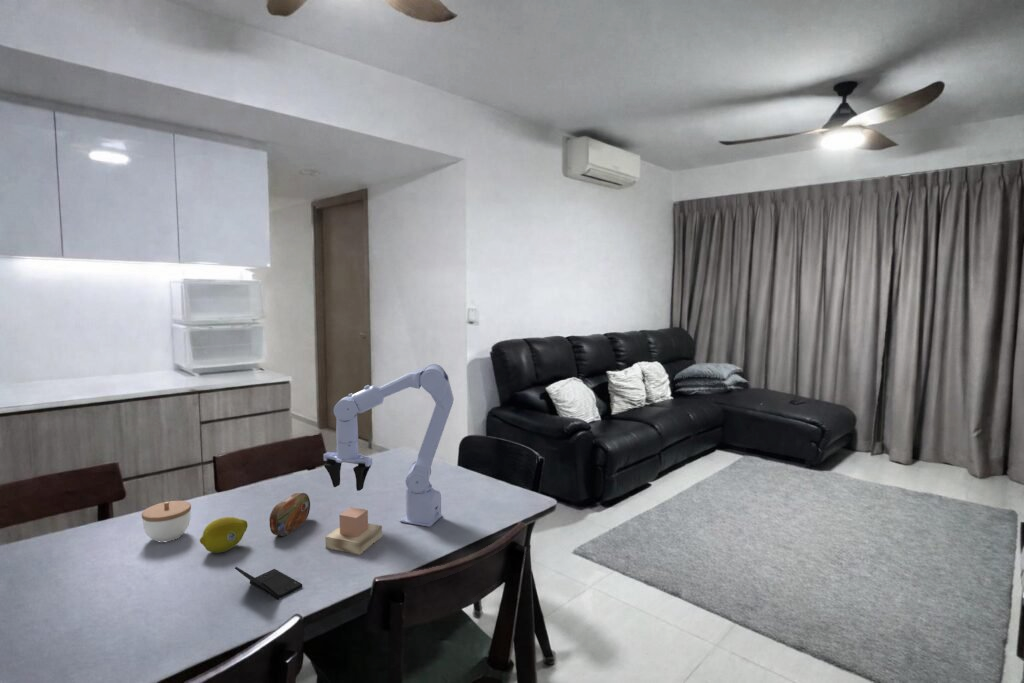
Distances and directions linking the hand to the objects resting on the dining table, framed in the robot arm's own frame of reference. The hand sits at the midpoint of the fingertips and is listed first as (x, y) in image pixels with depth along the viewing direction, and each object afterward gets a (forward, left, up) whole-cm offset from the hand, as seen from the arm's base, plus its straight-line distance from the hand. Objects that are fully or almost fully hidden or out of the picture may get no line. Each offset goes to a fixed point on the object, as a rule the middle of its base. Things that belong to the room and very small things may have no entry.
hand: (348, 487), depth 148 cm
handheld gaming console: (-4, +34, -10) cm, 36 cm away
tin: (+12, +9, -10) cm, 18 cm away
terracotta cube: (-9, +10, -6) cm, 15 cm away
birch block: (-9, +10, -9) cm, 17 cm away
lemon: (+19, +24, -10) cm, 32 cm away
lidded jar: (+38, +24, -10) cm, 46 cm away
